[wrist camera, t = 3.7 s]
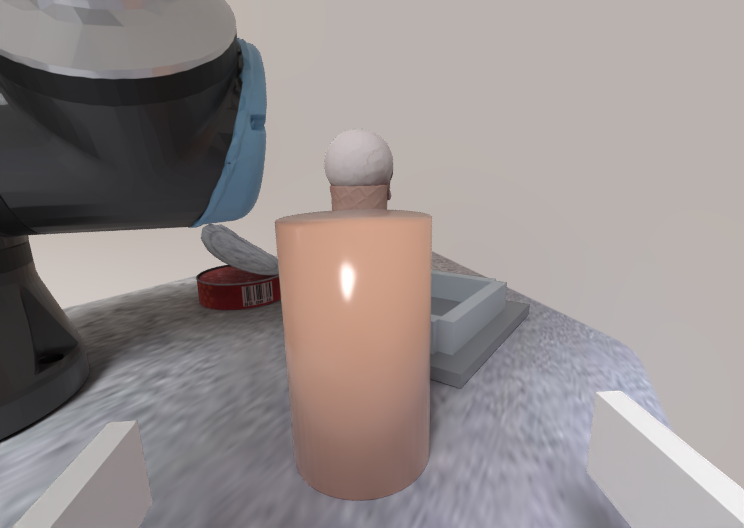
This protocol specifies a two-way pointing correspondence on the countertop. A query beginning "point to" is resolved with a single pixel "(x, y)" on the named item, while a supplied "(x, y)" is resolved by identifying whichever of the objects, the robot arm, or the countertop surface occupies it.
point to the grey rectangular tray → (468, 324)
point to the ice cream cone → (359, 171)
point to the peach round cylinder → (357, 347)
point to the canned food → (237, 273)
